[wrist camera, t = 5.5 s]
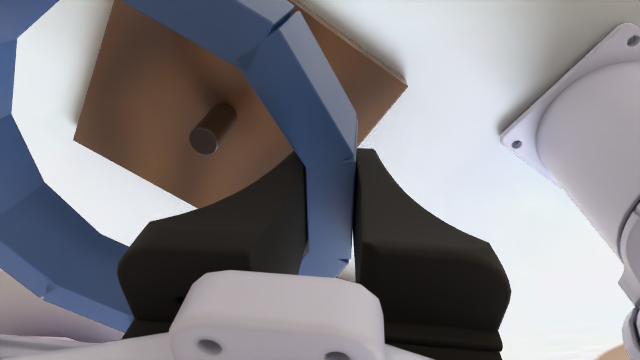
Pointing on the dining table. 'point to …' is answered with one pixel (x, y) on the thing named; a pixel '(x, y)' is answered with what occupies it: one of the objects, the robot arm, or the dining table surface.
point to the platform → (204, 106)
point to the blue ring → (272, 89)
